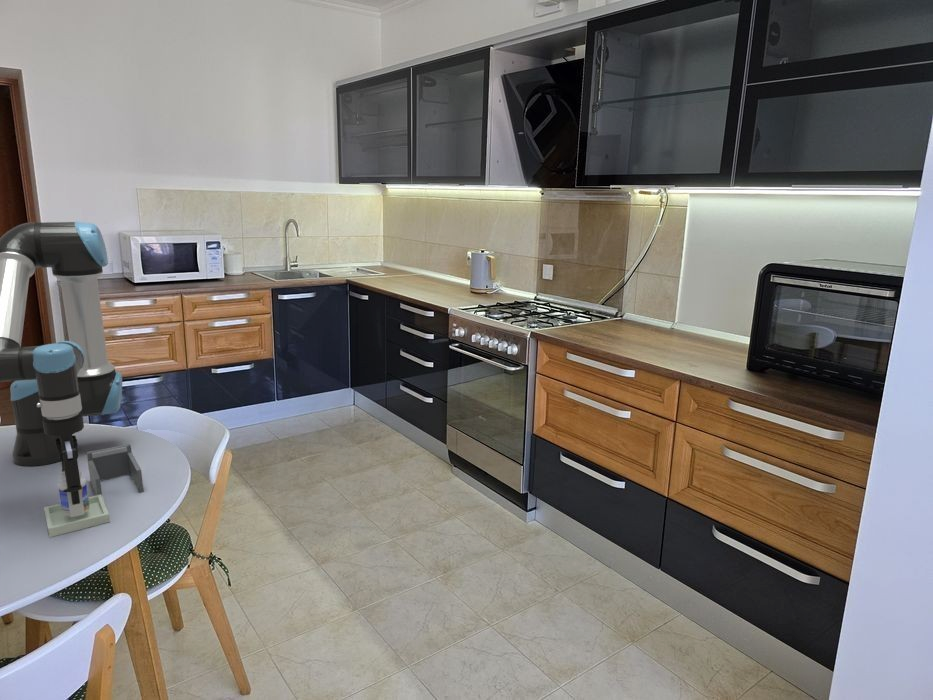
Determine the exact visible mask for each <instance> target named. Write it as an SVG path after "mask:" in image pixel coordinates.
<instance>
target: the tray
mask: <svg viewBox="0 0 933 700" xmlns="http://www.w3.org/2000/svg"><path fill="white" fill-rule="evenodd" d="M102 497H103V494H102V495H101V494H100V495H92V496H88V500H89V510H88V511H86V512H85V515H80V516H76V517H72V518H71V517H70V516H65V515H63V513H62V508H61V503H57V504H53V505H50V506H49V505H48V506H44V507H43V509H44V516H45V521H46V526H47V531H48V536H49V538H52V537H55V536H60V535H64V534H68V533H72V532H75V531H79V530H83V529H88V528H92V527H95V526H100V525H104V524H107V523H110V522H111V521H110V515H109V511H108V509H107V506H106V503H105V501H104V498H102Z"/></svg>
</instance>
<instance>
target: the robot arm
mask: <svg viewBox="0 0 933 700" xmlns="http://www.w3.org/2000/svg"><path fill="white" fill-rule="evenodd" d="M108 264H109V259H108V253H107V248H106V244H105V241H104V237H103V235H102V233H101V230H100V228H99V227H98V225H96V224H94V223H91V222H82V221H81V222H80V221H61V222H60V221H52V222H51V221H49V222H48V221H47V222H38V221H36V222H34V221H33V222H25V223H21V224H18V225H16V226H14V227H12V228H11V229H10V230H7V231H6V232H5V233H4V234H2V236H1V237H0V383H4V382H12V383H11V384H10V386H9V387H10V388H9V389H10V401H11V406H12V407H11V408H12V412H13V418H14V424H15V425H14V426H15V428H16V436H15V440H14V445H13V450H12V459H13V462H14V464H16V465H19V466H25V467H34V466H35V467H36V466H44V465H49V464H54V463H57V462H60V464H61V472H63V471H65V477H66V483H67V489H65V490H64V493H65V492H67V496H68V503H69V510H70V517H71V518H72V517H76V516H80V515H85V513H84V506H83V499H82V492H81V489H82V486H81V483H80V476H79V469H80V468H79V463H78V458H79V453H78V452H79V451H78V446H79V445H78V439H77V437H76V435H75V434H76V433H79V432H81V431H82V430H83V429H84V428H85V424H84V417H92V416H104V415H109V414H115V413H117V412H118V411H119V410H120V408H121V404H122V403H121V402H122V394H123V374H122V372H119V371H116V367H115V365H114V364H113V363H111V362H109V361H108V359H109V358H108V353H107V343H106V335H105V328H104V321H103V320H104V319H103V313H102V305H101V299H100V298H101V297H100V291H99V283H98V278H99V277H100V276H102V274H104V273H103V272H104V271H103V267H107V266H108ZM38 268H51V272H52V276H54V278H56V279H58V280H59V281H60V286H61V293H62V300H63V307H64V314H65V315H64V316H65V322H66V327H67V334H68V340H62V341H58V342H55V343H48V344H42V345H35V346H34V345H33V346H22V340H23V331H24V326H25V325H24V322H25V317H26V315H25V314H26V307H27V298H28V290H29V282H30V278H31V277H32V276H33V275H35V272H36V269H38Z"/></svg>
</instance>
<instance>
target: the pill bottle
mask: <svg viewBox="0 0 933 700" xmlns="http://www.w3.org/2000/svg"><path fill="white" fill-rule="evenodd" d="M78 469H79V476H80V483H81V486H82V489H81V492H82V499H83V506H84V513H85V512H86V511H88V510H89V500H88V497H89V494H88V487H87V480H86V479H85V478H84V477H83V476H82V470H81V469H80V468H78ZM59 475H60V480H61V481H59V483H58V485H57V487H58V488H57V489H58V493H59V500H60V504H61V508H62V513H63V515H65V516H70V510H69V503H68V496H67V492H65V493H64V490H65V489H67V483H66V477H65V471H63V472H62V471H61V472H60V474H59Z"/></svg>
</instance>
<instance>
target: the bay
mask: <svg viewBox="0 0 933 700" xmlns="http://www.w3.org/2000/svg"><path fill="white" fill-rule="evenodd" d="M86 456H87V465H88V466H87V467H88V471H89V478H90V484H91V486H92V489H93V491H94V494H95V495H94V496H96V495H100V494H101V495H102V498H103V491H102V484H101V483H102V482H101V481H103V480H104V481H105V480H108V479H113V478H117V477H118V478H119V477H121V476H126V475H129V476H130V477H131V479H132V481H133V484H134V485H135V487H136V489H137V491H138V493H143V492H145V491H144V484H143V481H144V480H143V473H142V469H141V467H140V465H139V463H138V461H137V459H136V458H135V456H134V454H133V451H132V445H131V443H128V444H127V443H126V444H121V445H117V446H112V447H106V448H102V449H97V450H91V451H87V452H86ZM103 499H104V498H103Z"/></svg>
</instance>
